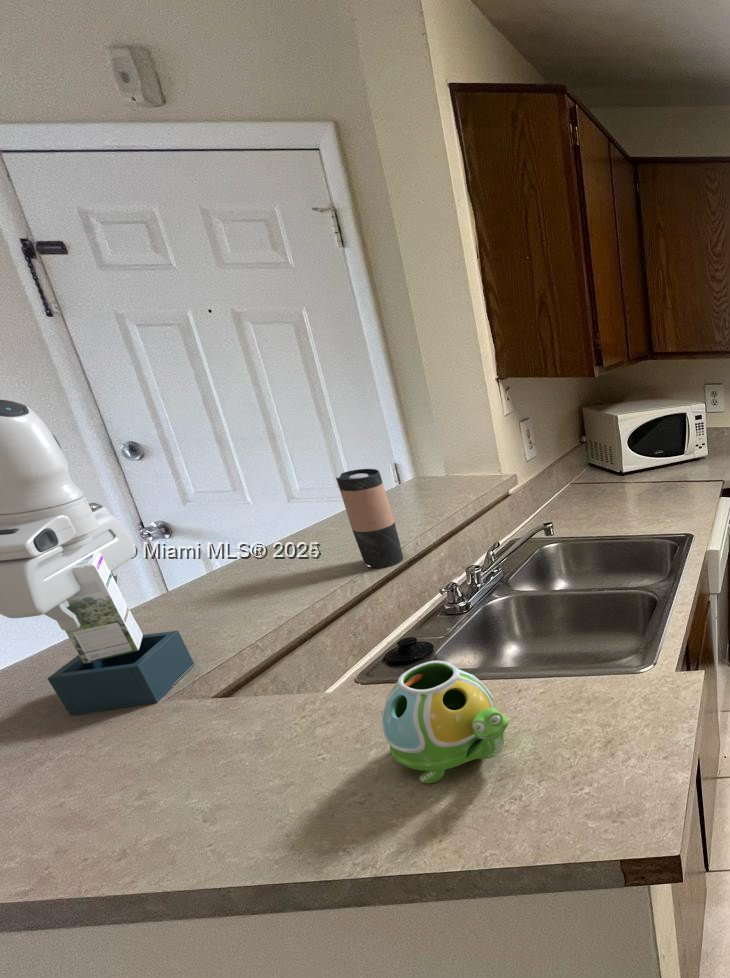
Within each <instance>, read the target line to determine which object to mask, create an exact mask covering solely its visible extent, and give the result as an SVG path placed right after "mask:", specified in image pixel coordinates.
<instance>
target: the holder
mask: <svg viewBox="0 0 730 978" xmlns="http://www.w3.org/2000/svg"><path fill="white" fill-rule="evenodd" d="M193 664H194V665H193ZM192 665H193V666H192ZM191 666H192V667H191ZM190 667H191V668H190ZM194 667H195V662H194V660H193V658H192V656H191V654H190V652H189V650H188V647H187V646H186V643H185V642H184V640H183V637H182V635H181V634H180V631H179V630H172V631H163V632H157V633H155V632H154V633H149V634H143V636H142V641H141V644H140V648H139V650H138V651H135V652H131V653H127V654H123V655H119V656H115V657H111V658H107V659H103V660H99V661H95V662H90V663H86V664H84V663H83V661H82V659H81V658H80V656H79V654H77V655H76V656H75V657H73V658H72V659H71V660H70V661H67V663H65V664H64V665H62V667H60V668H59V669H57V670H56V671H55V672H53V674H51V675H50V676H48V677H47V679H46V680H47V681H48V683H49V684H50V685H51V687H52V689H53V690H54V692H55V694H56V696H57V697H58V699H59V700H60V702H61V703H62V705H63V706H64V708H65V710H66V711H67V713H68V715H69V716H76V715H84V714H89V713H97V712H104V711H110V710H117V709H125V708H129V707H131V708H132V707H137V706H142V705H150V704H156V703H158V702H160V701H161V700H162V698H164V697H165V695H167V694H168V693H169V692H170V691H171V690H172V688H173V687H174V686H175V685H176V684H177V683H178V682H180V680H182V678H184V676H186V675H187V673H188V672H189V671H190V670H191V669H192V668H194ZM189 668H190V669H189ZM188 669H189V670H188ZM187 670H188V671H187ZM186 671H187V672H186ZM185 672H186V673H185ZM184 673H185V674H184ZM183 674H184V675H183ZM182 675H183V676H182ZM181 676H182V677H181ZM180 677H181V678H180ZM179 678H180V679H179ZM178 679H179V680H178ZM177 680H178V681H177ZM176 681H177V682H176ZM175 682H176V683H175ZM174 683H175V684H174ZM172 685H173V686H172Z"/></svg>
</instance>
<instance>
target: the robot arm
mask: <svg viewBox="0 0 730 978" xmlns="http://www.w3.org/2000/svg"><path fill="white" fill-rule="evenodd" d="M69 467H70V466H69V463H68V461H67V459H66V456H65V454H64V453H63V451H62V447H61V445H60V442H59V441H58V439H57V438H56V436H55V435H54V434H53V433H52V432H51V430H50V429H49V428H48V426H47V425H46V423H44V421H43V420H42V419H41V418H40V417H39V415H38V414H36V412H35V411H33V409H31V408H30V407H29V406H27V405H25V404H23V403H19V402H16V401H12V400H7V399H0V615H1V616H4V617H6V618H8V619H23V618H24V619H25V618H31V617H38V616H42V615H44V616H46V617H48V618H50V619H52V620H54V621H55V622H56V623H57V624H58V626H59V628H60V629H61V630H63V631H64V632H65V631H68V630H76V629H78V628H79V627H81V626H82V625H83V624H85V620H84V619H83V616H82V615H81V613H75V614H74V613H72V612H71V611H70V610H68V609H67V608H66V607H68V606H69V604H68V602H67V599H68V598H70V597H71V596H73V595H75V594H76V593H78V592H79V591H81V590H82V587H81V584H80V583H79V581H78V579H77V578H76V576H75V574H74V573H73V571H72V570H73V567H74V566H76V565H77V564H78V563H79V562H81V561H82V560H84V559H85V558H87V557H88V556H90V555H92V554H94V553H97V552H98V553H101V555H102V557H103V559H104V561H105V563H106V565H107V567H108V569H109V570H110V572H111V574H112V576H113V578H114V580H115V582H116V584H117V586H118V588H119V590H120V592H121V594H122V596H123V597H125V595H124V592H123V590H122V588H121V574H122V573H121V571H120V569H119V567H120V566H123V565H125V563H127V562H128V561H130V560H132V559H134V558H135V557H136V556H137V555H136V553H137V547H136V545H135V542H134V541H133V539H132V538H131V536H130V534H129V532H128V531H127V530H126V528H125V527H124V525H123V524H122V523H121V521H120V520H119V519H118V518H117V516H114V515H113V514H111V513H110V510H109V509H108V508H107V507H106V506H103V505H102V504H99V503H97V502H89V501H88V500H87V498H86V496H85V494H84V492H83V491H82V490H81V488H80V487H79V486H78V485H77V484H75V482H74V481H73V480H72V478H71V475H70V469H69Z"/></svg>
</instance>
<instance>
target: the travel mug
mask: <svg viewBox="0 0 730 978" xmlns="http://www.w3.org/2000/svg"><path fill="white" fill-rule="evenodd" d="M335 480H336V482H337V486H338V488H339V492H340V495H341V498H342V501H343V505H344V508H345V511H346V514H347V518H348V521H349V524H350V527H351V530H352V534H353V536H354V538H355V542H356V544H357V547H358V549H359V553H360V555H361V559H362V560H363V563H364V565H365V564H367V565H370V566H371V567H372V568H371V567H367V566H366V565H365V567H366V568H368V569H375V570H376V569H384V568H388V567H389V568H390V567H392V566H395V565H398V564H400V563H401V562H402V561H403V560H404V554H403V550H402V546H401V541H400V538H399V534H398V531H397V526H396V523H395V519H394V515H393V511H392V508H391V505H390V502H389V499H388V496H387V492H386V488H385V486H384V482H383V478H382V476H381V472H380V471H379V470H378V469H376V468H360V469H352V470H348V471H344V472H342V473H340V476H339V477H335Z"/></svg>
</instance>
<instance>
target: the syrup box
mask: <svg viewBox="0 0 730 978" xmlns="http://www.w3.org/2000/svg"><path fill="white" fill-rule="evenodd" d="M72 571H73V573H74V574H75V576H76V578H77V579H78V581H79V583H80V584H81V587H82V590H81V591H79V592H78V593H76V594H75V595H73V596H71V597H70V598H68V599H67V602H68V604H69V606H68V607H66V608H67V609H68V610H70V611H71V612H72V613H74V614H75V613H81V615H82V616H83V619H84V620H85V624H83V625H82V626H81V627H79V628H78V629H76V630H68V631H65V630H64V632H65V633H66V636H67V637H68V639H69V640H70V642H71V644H72V645H73V647H74V649H75V651H76V653H77V655H79V656H80V658H81V659H82V661H83V663H84V664H86V663H90V662H95V661H99V660H103V659H107V658H111V657H115V656H119V655H123V654H127V653H131V652H135V651H138V650H139V648H140V644H141V641H142V636H143V635H144V634H143V631H142V629H141V628H140V626H139V625H138V623H137V621H136V619H135V618H134V616H133V614H132V612H131V610H130V608H129V606H128V604H127V601H126V600H125V598H124V596H122V594H121V592H120V590H119V588H118V586H117V584H116V582H115V580H114V578H113V576H112V574H111V572H110V570H109V569H108V567H107V565H106V563H105V561H104V559H103V557H102V555H101V553H98V552H97V553H94V554H92V555H90V556H88V557H87V558H85V559H84V560H82V561H81V562H79V563H78V564H77V565H76V566H74V567H73V570H72Z"/></svg>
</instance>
